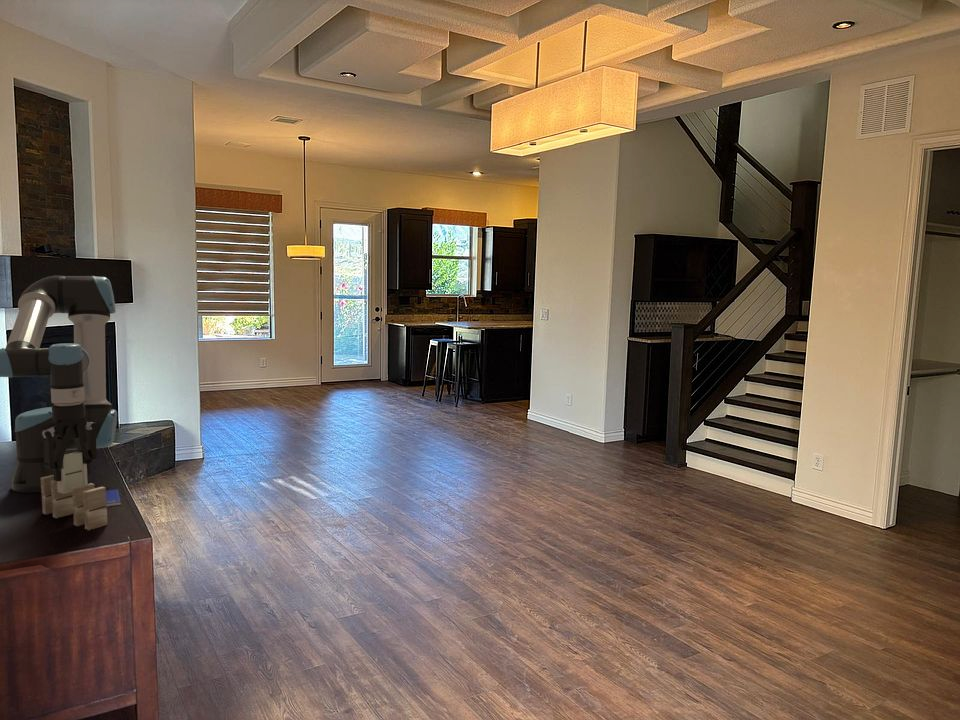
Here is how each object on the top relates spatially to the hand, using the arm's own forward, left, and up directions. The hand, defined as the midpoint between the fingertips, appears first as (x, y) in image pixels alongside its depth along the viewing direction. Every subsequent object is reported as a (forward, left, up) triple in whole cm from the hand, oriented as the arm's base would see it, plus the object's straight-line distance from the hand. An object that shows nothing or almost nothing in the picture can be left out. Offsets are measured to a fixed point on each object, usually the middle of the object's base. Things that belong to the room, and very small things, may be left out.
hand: (72, 489), depth 186 cm
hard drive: (-14, +7, -9) cm, 18 cm away
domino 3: (0, 0, 0) cm, 0 cm away
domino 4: (+4, +3, -8) cm, 10 cm away
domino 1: (-9, -5, -8) cm, 13 cm away
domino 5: (+8, +5, -8) cm, 13 cm away
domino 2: (-5, -2, -8) cm, 10 cm away
